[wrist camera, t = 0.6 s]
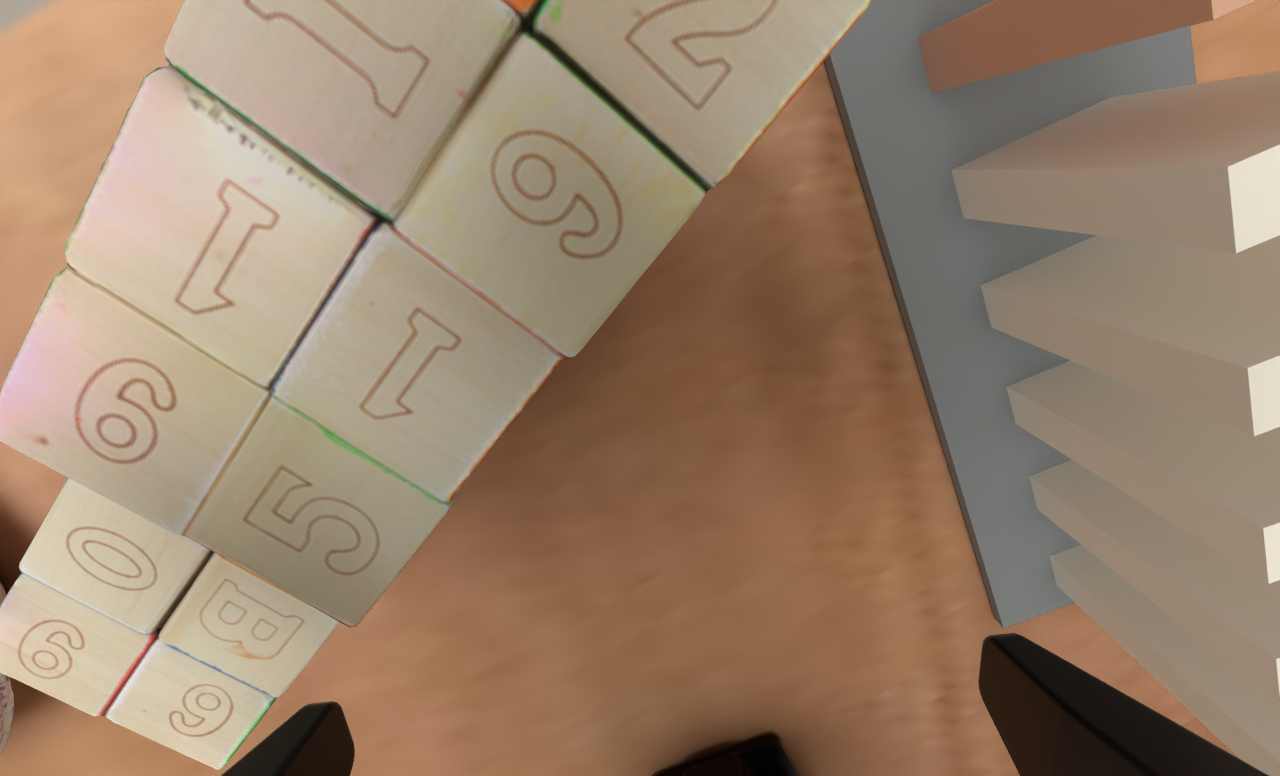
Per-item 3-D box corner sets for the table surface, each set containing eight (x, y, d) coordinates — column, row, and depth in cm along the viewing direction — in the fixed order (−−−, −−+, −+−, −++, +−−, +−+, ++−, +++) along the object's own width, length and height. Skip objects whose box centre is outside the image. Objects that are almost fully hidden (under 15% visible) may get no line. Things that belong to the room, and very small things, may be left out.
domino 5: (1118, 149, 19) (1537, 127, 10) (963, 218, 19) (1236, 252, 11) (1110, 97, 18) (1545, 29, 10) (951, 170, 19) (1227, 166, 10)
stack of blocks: (364, 554, 24) (119, 921, 12) (217, 467, 22) (-226, 790, 11) (725, 100, 18) (903, -22, 7) (564, -55, 17) (444, -550, 5)
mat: (1232, 532, 24) (1247, 540, 24) (994, 618, 25) (1003, 628, 25) (1142, -212, 16) (1162, -225, 15) (795, -33, 17) (801, -40, 17)
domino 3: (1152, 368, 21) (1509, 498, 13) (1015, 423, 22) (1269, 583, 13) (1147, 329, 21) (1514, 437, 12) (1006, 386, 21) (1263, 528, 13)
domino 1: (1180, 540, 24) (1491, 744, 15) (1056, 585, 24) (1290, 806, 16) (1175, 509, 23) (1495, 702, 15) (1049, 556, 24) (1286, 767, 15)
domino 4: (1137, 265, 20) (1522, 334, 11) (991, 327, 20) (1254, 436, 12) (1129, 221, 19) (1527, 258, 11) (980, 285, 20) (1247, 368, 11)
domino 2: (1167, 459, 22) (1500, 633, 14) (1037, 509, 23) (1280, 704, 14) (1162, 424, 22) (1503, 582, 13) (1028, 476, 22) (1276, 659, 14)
